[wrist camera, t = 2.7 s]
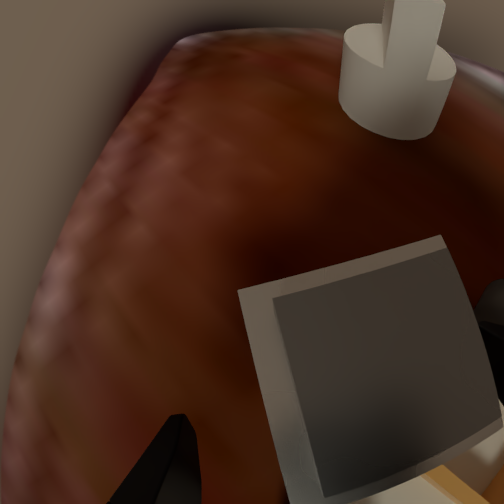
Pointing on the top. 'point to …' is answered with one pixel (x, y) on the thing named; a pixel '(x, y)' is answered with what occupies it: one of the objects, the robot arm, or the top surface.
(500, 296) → the chassis
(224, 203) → the top surface
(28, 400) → the top surface
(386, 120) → the base with upright slab
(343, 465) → the grey box
